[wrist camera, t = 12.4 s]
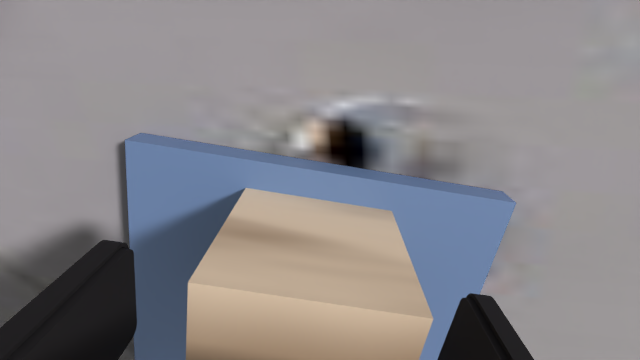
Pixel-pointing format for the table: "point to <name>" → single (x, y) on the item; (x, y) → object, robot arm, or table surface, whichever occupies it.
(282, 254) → the maple cube
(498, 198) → the board
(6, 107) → the table surface
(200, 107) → the table surface
